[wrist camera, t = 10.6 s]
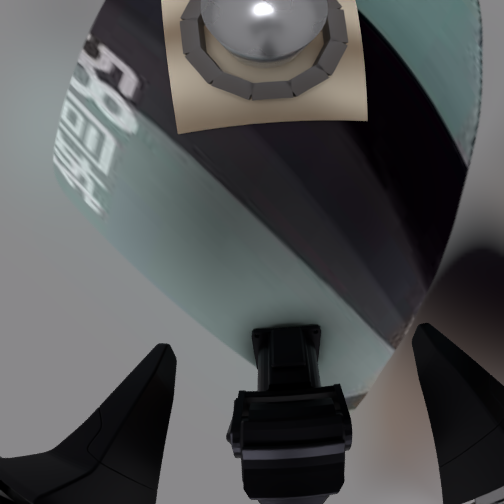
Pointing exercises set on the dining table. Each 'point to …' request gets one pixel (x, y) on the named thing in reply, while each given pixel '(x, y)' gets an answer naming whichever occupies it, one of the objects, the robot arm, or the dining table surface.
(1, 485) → the robot arm
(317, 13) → the cylinder
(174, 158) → the dining table surface
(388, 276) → the dining table surface
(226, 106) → the ring seat
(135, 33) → the dining table surface
